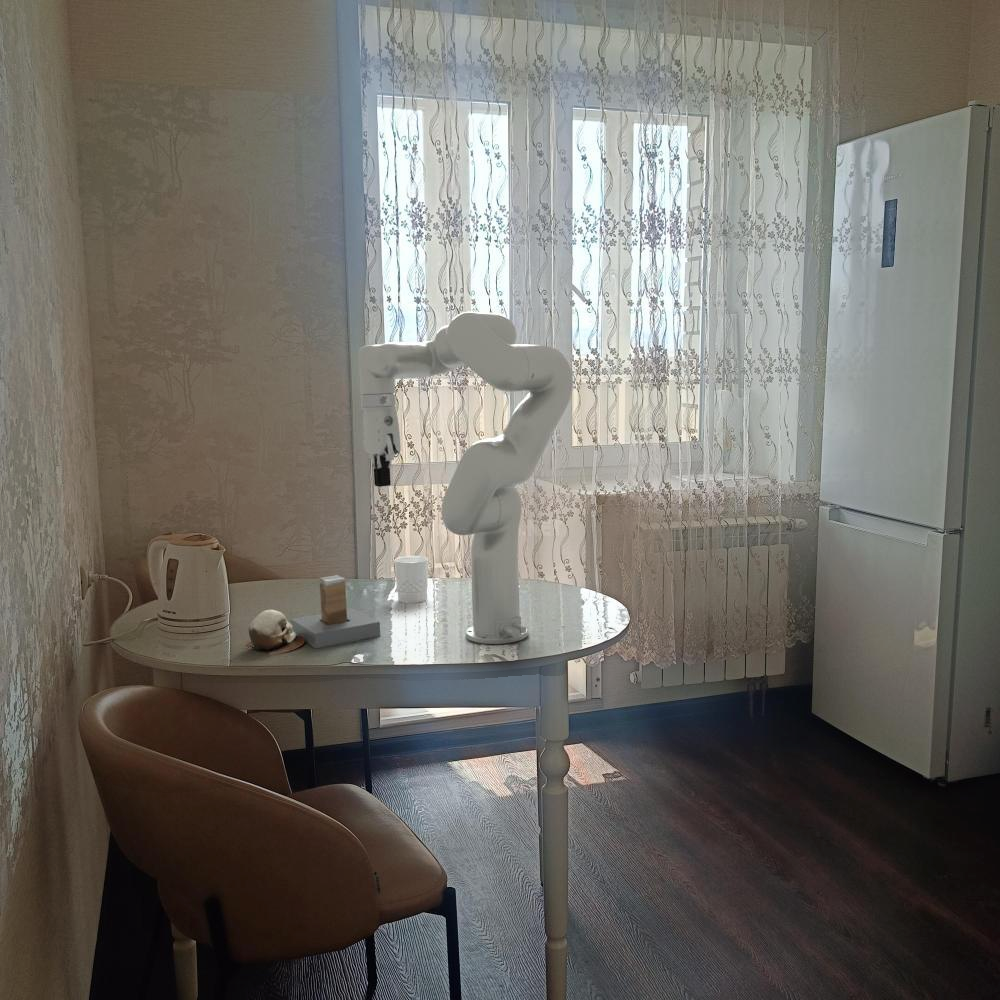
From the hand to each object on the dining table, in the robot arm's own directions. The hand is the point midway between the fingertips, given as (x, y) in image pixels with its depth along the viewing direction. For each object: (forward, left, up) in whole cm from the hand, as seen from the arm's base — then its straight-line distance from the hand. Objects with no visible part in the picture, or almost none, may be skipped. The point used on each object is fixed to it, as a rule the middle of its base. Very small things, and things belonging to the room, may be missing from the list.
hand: (382, 485), depth 200 cm
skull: (-8, +29, -30) cm, 42 cm away
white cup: (+8, -10, -29) cm, 32 cm away
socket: (-8, +16, -29) cm, 34 cm away
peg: (-8, +16, -29) cm, 34 cm away
